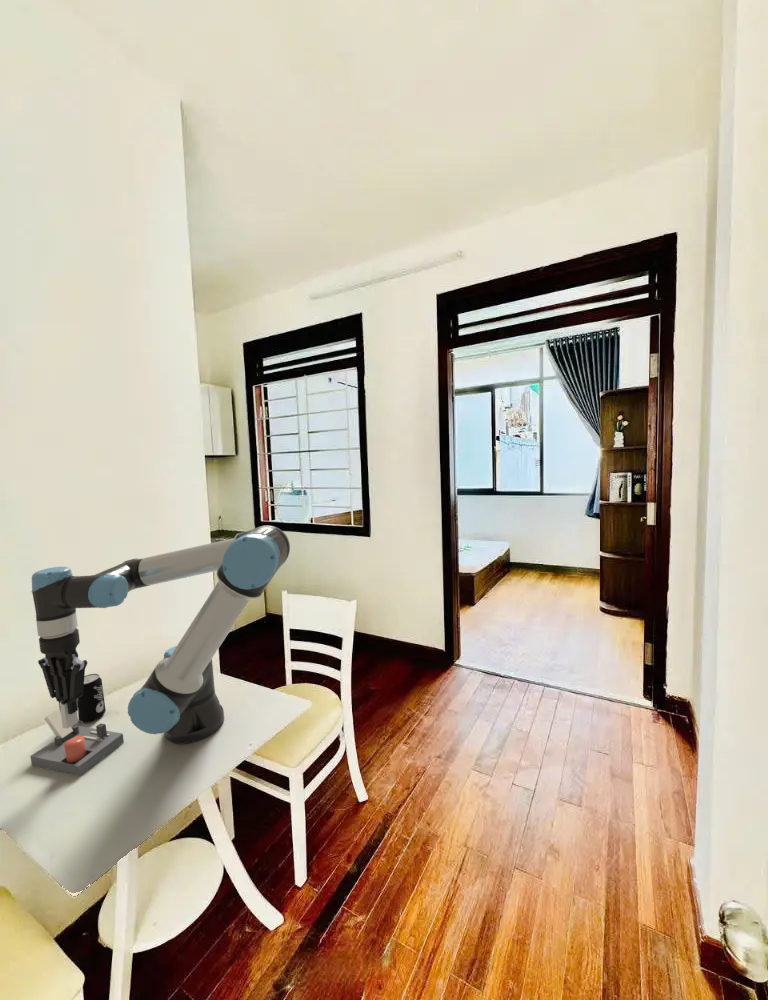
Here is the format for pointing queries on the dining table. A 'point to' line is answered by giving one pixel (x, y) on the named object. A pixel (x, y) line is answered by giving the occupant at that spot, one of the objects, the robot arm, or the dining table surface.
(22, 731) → the dining table surface
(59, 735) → the toggle
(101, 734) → the slider
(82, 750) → the button
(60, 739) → the panel
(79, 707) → the beverage can
